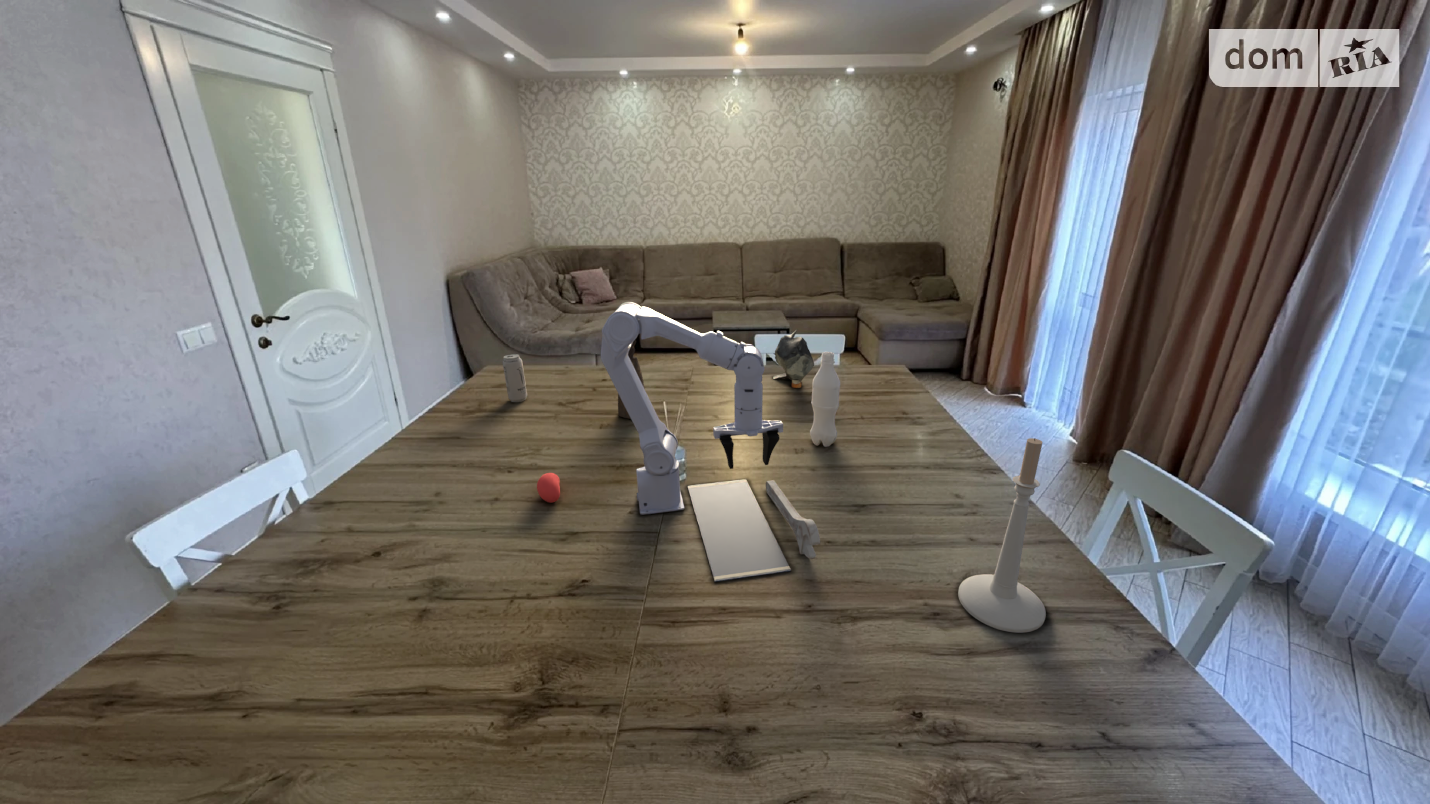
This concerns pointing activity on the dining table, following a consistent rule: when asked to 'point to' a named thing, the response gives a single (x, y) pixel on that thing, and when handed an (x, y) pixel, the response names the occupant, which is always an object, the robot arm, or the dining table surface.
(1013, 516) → the candlestick
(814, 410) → the water bottle
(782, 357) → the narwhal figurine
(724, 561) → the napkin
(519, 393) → the energy drink can
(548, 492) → the stress ball
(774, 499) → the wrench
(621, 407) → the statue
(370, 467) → the dining table surface
